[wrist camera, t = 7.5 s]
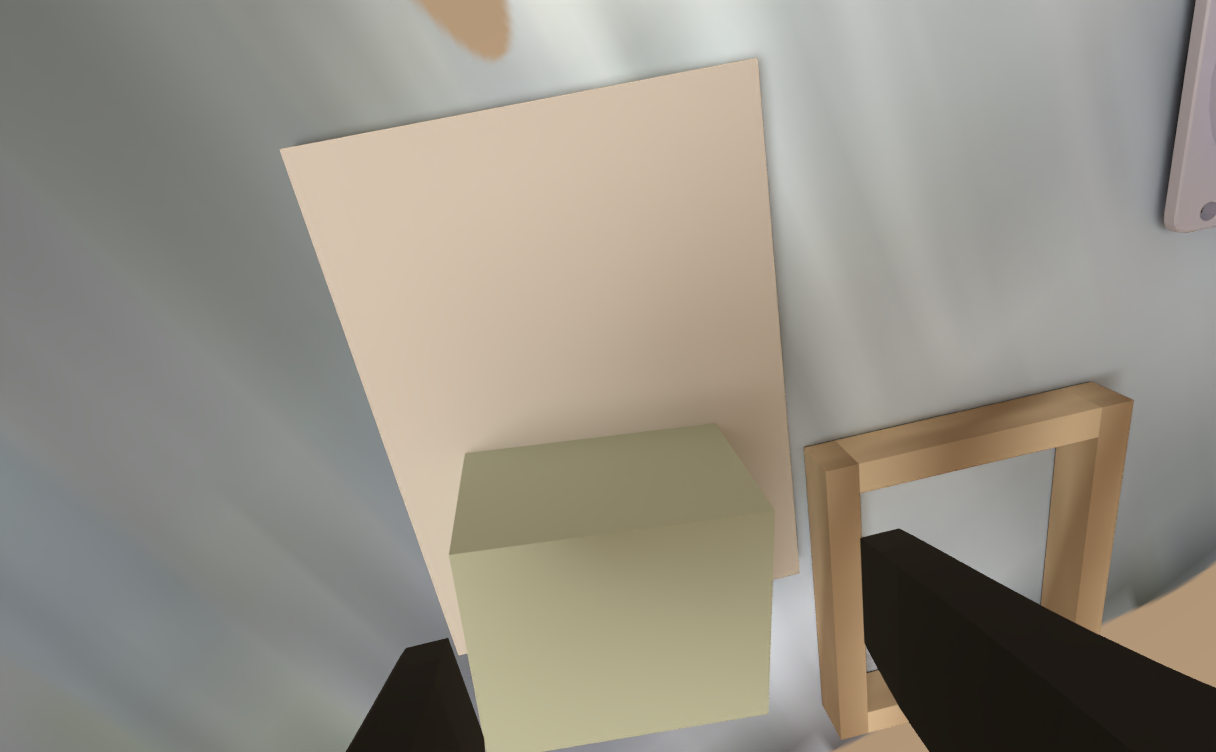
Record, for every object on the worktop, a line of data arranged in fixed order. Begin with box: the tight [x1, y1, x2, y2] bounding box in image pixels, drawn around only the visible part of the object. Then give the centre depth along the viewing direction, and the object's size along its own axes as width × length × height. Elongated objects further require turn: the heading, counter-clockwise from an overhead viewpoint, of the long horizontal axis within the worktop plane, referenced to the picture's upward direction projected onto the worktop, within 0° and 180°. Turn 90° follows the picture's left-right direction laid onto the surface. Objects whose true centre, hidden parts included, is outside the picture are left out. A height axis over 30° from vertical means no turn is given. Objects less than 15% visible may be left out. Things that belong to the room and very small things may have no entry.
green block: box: [449, 423, 775, 752], centre depth 17 cm, size 4×6×7 cm
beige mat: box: [280, 58, 800, 655], centre depth 18 cm, size 11×15×1 cm
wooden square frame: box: [804, 382, 1134, 740], centre depth 21 cm, size 10×11×2 cm
